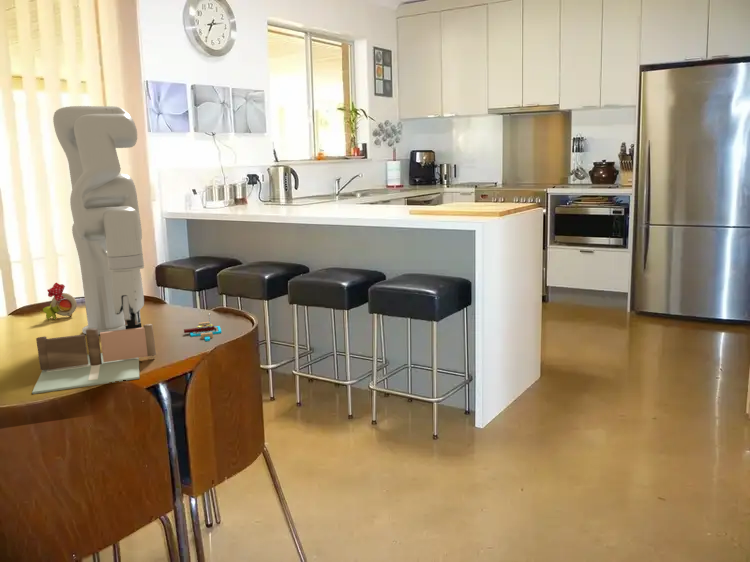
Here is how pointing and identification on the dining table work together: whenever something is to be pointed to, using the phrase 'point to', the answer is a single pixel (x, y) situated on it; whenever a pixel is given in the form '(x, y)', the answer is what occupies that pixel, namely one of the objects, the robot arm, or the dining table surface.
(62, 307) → the bird rattle
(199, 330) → the gear mechanism
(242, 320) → the dining table surface
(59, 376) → the card
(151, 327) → the pink rectangular panel
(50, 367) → the fence fixed
